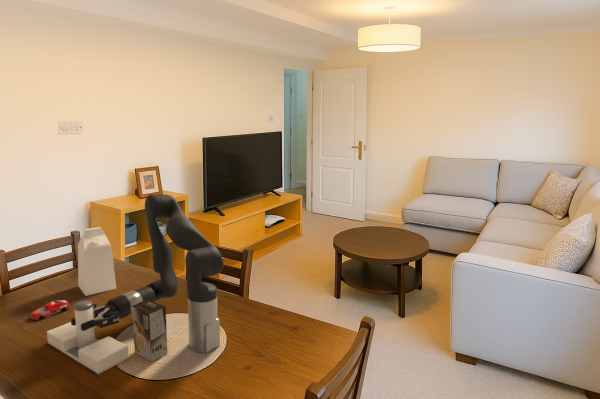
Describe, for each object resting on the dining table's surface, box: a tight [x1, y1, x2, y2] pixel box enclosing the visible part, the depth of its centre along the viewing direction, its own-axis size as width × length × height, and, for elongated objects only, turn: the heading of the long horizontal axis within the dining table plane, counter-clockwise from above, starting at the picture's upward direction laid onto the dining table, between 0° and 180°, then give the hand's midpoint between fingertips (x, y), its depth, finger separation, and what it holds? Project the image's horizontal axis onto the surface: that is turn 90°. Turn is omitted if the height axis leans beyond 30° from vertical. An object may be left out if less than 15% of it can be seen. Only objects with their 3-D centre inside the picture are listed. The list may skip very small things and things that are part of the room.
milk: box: [77, 226, 117, 297], centre depth 178 cm, size 12×12×26 cm
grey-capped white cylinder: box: [73, 300, 96, 349], centre depth 134 cm, size 5×5×14 cm
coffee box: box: [131, 299, 168, 362], centre depth 134 cm, size 9×6×16 cm
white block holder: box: [46, 321, 129, 375], centre depth 135 cm, size 28×10×4 cm, turn 57°
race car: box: [30, 299, 71, 321], centre depth 158 cm, size 13×5×4 cm, turn 144°
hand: (76, 325), depth 131 cm, fingers closed on grey-capped white cylinder, 5 cm apart
